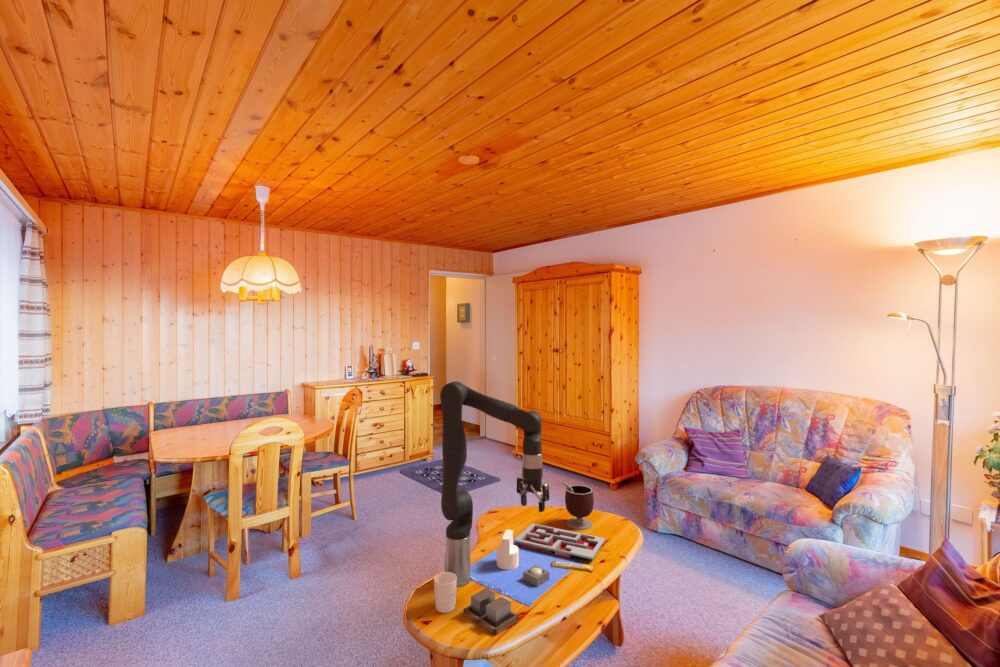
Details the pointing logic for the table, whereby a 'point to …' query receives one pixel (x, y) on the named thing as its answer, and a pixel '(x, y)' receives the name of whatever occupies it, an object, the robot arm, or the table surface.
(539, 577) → the button housing
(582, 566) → the candy bar
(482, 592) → the seated billet
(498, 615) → the block
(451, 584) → the white cup
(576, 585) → the table surface
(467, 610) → the frame
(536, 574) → the button
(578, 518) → the mate gourd
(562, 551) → the maze game
